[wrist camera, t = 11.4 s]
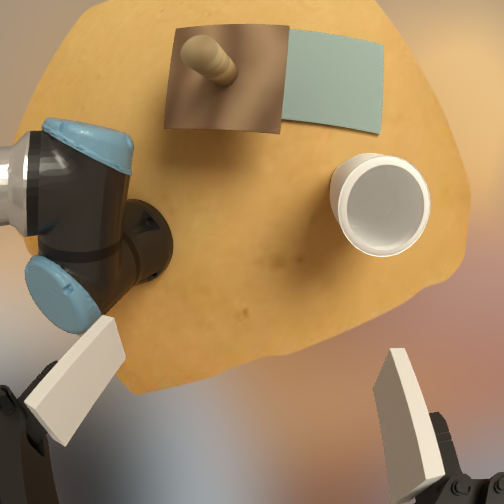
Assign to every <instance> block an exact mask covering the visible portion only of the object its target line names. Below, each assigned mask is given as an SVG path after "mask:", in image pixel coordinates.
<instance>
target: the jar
mask: <svg viewBox="0 0 504 504" xmlns="http://www.w3.org/2000/svg"><path fill="white" fill-rule="evenodd" d="M330 204H331V208H332V212H333V214H334V216H335V218H336V220H337V222H338V224H339V225H340V226H341V229H342V231H343V233H344V235H345V236H346V238H347V239H348V240H349V241H350V243H351V244H352V245H353V246H355V247H356V248H357V249H358V250H360V251H362V252H364V253H366V254H368V255H372V256H377V257H387V256H392V255H396V254H398V253H401V252H403V251H405V250H406V249H408V248H409V247H410V246H412V245H413V244H414V243H415V242H416V241H417V240H418V238H419V237H420V236H421V234H422V233H423V231H424V229H425V227H426V225H427V222H428V219H429V215H430V206H431V202H430V193H429V189H428V186H427V183H426V181H425V179H424V177H423V176H422V174H421V173H420V172H419V170H418V169H417V168H416V167H415V166H414V165H412V164H411V163H410V162H408V161H406V160H405V159H402V158H400V157H396V156H391V155H382V154H377V153H364V154H360V155H356V156H354V157H352V158H350V159H348V160H346V161H344V162H343V163H341V164H340V165H339V166H338V167H337V168H336V169H335V171H334V173H333V175H332V178H331V182H330Z"/></svg>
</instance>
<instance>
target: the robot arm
mask: <svg viewBox="0 0 504 504" xmlns="http://www.w3.org/2000/svg"><path fill="white" fill-rule="evenodd" d="M42 129H43V130H41V131H27V132H26V133H25V134H24V136H23V137H22V138H21V139H20V140H19V141H18V142H17V143H16V144H14V145H12V146H4V147H0V226H4V225H12V226H14V227H15V228H16V229H17V230H18V231H19V232H20V233H21V234H22V235H23V236H24V237H27V236H35V235H38V247H39V253H38V255H35V256H33V257H32V258H31V259H30V261H29V262H28V264H27V265H26V268H25V280H26V284H27V287H28V290H29V292H30V295H31V296H32V298H33V300H34V302H35V303H36V305H37V306H38V307H39V309H40V310H41V311H42V313H43V314H44V315H45V316H46V317H47V318H48V319H49V320H50V321H51V322H52V323H53V324H54V325H56V326H57V327H59V328H60V329H62V330H64V331H66V332H68V333H72V334H82V333H85V332H86V333H85V334H84V335H83V336H82V337H81V338H80V339H79V340H78V341H77V342H76V343H75V344H74V345H73V346H72V347H71V348H70V350H69V351H68V352H67V353H66V354H65V355H64V356H63V357H62V358H61V359H60V360H59V361H54V362H52V363H51V364H49V365H47V366H46V368H45V369H44V370H43V371H42V372H41V374H39V375H38V376H37V378H36V379H35V380H34V381H33V382H32V383H31V384H30V386H29V387H28V388H27V389H26V390H25V391H24V392H23V393H22V395H21V396H20V397H19V398H18V399H16V397H15V396H14V395H13V393H12V392H11V390H10V388H9V387H7V386H6V385H0V504H59V502H58V497H57V493H56V489H55V484H54V479H53V473H52V468H51V461H50V454H49V446H48V440H47V437H46V434H47V433H49V434H50V436H51V437H52V438H53V439H54V440H55V441H57V442H59V443H60V444H62V445H64V446H66V445H67V443H68V442H69V440H70V439H71V437H72V436H73V434H74V432H75V431H76V430H77V428H78V427H79V425H80V424H81V422H82V421H83V419H84V418H85V416H86V415H87V413H88V412H89V410H90V409H91V407H92V406H93V404H94V403H95V401H96V400H97V398H98V397H99V396H100V394H101V393H102V391H103V390H104V388H105V387H106V386H107V384H108V383H109V381H110V380H111V378H112V377H113V376H114V374H115V373H116V371H117V370H118V369H119V367H120V366H121V364H122V363H123V362H124V360H125V359H126V355H125V352H124V349H123V346H122V343H121V340H120V336H119V333H118V330H117V326H116V322H115V319H114V317H109V316H105V314H106V313H107V312H108V311H109V310H110V309H111V308H112V307H113V306H114V305H115V304H116V303H117V302H118V301H119V300H120V299H121V298H122V297H123V296H124V295H125V294H126V293H127V292H128V291H129V290H130V289H131V288H132V287H133V286H135V285H139V284H142V283H145V282H149V281H151V280H153V279H155V278H156V277H158V276H159V275H160V274H161V273H162V272H163V271H164V270H165V269H166V267H167V266H168V264H169V263H170V260H171V257H172V253H173V239H172V234H171V231H170V228H169V226H168V224H167V222H166V220H165V219H164V217H163V216H162V215H161V214H160V212H159V211H158V210H157V209H155V208H154V207H153V206H152V205H150V204H148V203H146V202H144V201H141V200H137V199H128V200H127V194H128V187H129V181H130V176H131V175H132V171H131V165H132V157H133V150H134V144H133V141H132V139H131V137H130V136H129V135H127V134H126V133H124V132H121V131H118V130H114V129H110V128H106V127H102V126H98V125H93V124H88V123H83V122H78V121H72V120H66V119H57V118H47V119H46V120H45V121H44V123H43V125H42ZM373 392H374V397H375V401H376V406H377V412H378V417H379V422H380V428H381V434H382V440H383V446H384V453H385V459H386V467H387V475H388V484H389V494H390V504H401V503H405V502H409V501H410V500H411V499H413V498H414V497H415V499H416V503H414V504H504V472H499V473H497V474H495V475H494V476H493V477H491V478H490V479H471V477H469V476H468V475H467V474H463V473H462V471H461V469H460V466H459V462H458V458H457V455H456V451H455V448H454V445H453V442H452V441H451V439H452V438H451V435H450V433H449V429H448V426H447V423H446V420H445V419H444V418H443V417H442V415H441V414H440V413H439V412H434V413H428V411H427V407H426V404H425V402H424V398H423V396H422V393H421V390H420V387H419V384H418V382H417V379H416V376H415V374H414V371H413V368H412V366H411V363H410V361H409V358H408V356H407V353H406V351H405V348H390V349H389V352H388V354H387V357H386V359H385V362H384V364H383V366H382V369H381V371H380V373H379V376H378V378H377V380H376V382H375V385H374V387H373Z"/></svg>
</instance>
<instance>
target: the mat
mask: <svg viewBox="0 0 504 504" xmlns="http://www.w3.org/2000/svg"><path fill="white" fill-rule="evenodd" d="M383 81H384V45H382V44H378V43H374V42H370V41H365V40H361V39H356V38H351V37H346V36H340V35H334V34H328V33H321V32H313V31H304V30H293V29H289V41H288V53H287V65H286V76H285V87H284V98H283V108H282V118H281V119H285V120H295V121H303V122H311V123H319V124H326V125H332V126H339V127H345V128H350V129H356V130H361V131H366V132H371V133H376V134H380V131H381V119H382V104H383Z"/></svg>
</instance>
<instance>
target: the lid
mask: <svg viewBox="0 0 504 504" xmlns="http://www.w3.org/2000/svg"><path fill="white" fill-rule="evenodd" d="M288 41H289V26H284V25H266V24H225V25H207V26H195V27H186V28H178V29H176V31H175V37H174V43H173V50H172V57H171V64H170V72H169V80H168V89H167V98H166V109H165V121H164V129H214V130H235V131H249V132H261V133H272V134H280V129H281V118H282V108H283V98H284V87H285V76H286V65H287V53H288Z"/></svg>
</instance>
